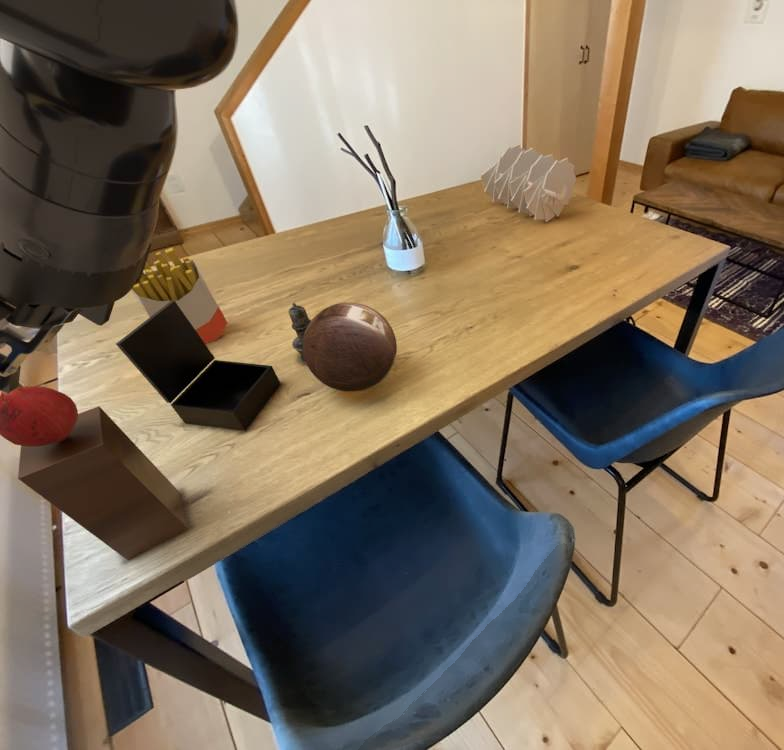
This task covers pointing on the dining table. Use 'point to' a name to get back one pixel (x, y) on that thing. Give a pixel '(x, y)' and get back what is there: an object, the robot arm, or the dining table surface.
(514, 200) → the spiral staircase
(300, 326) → the grey chess piece
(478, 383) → the dining table surface
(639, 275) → the dining table surface
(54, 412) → the pomegranate
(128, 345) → the box lid
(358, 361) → the wooden sphere
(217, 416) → the box
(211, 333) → the french fries container
